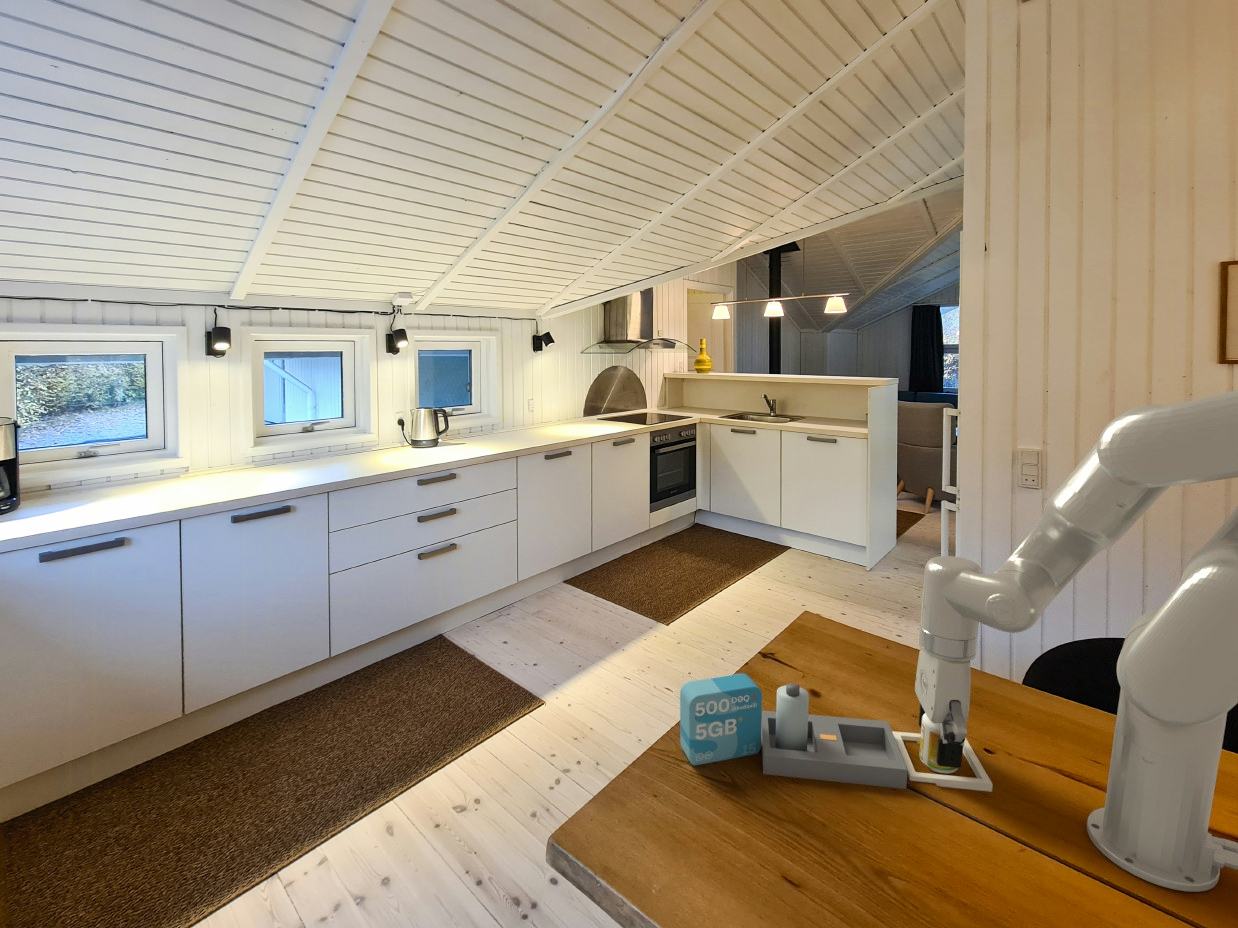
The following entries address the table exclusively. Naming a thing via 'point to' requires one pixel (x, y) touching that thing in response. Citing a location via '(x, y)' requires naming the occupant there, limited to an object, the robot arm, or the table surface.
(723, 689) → the data package
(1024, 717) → the table surface
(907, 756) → the tray frame
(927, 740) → the supplement bottle
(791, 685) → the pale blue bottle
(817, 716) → the grey compartment tray
